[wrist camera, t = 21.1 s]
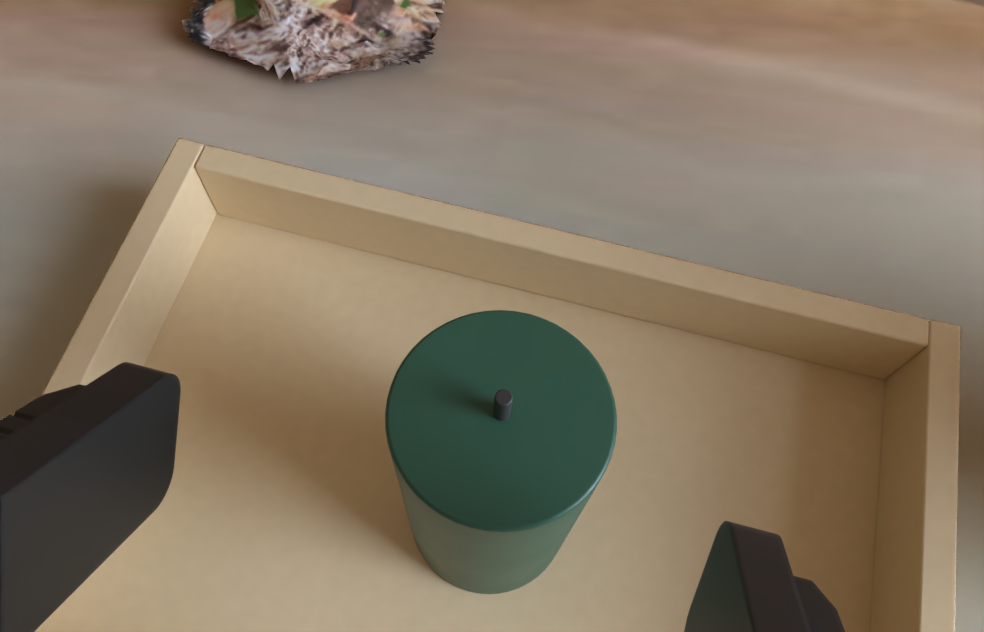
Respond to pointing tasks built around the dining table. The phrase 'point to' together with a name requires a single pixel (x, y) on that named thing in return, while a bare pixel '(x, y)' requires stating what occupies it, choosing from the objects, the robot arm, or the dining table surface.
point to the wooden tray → (485, 287)
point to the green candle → (497, 444)
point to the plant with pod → (317, 33)
